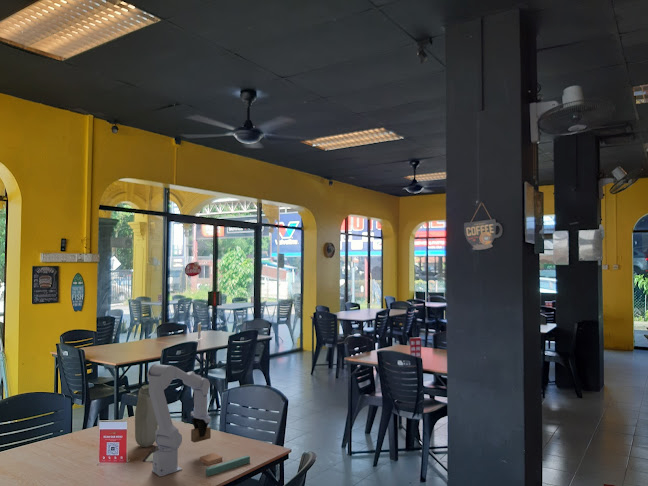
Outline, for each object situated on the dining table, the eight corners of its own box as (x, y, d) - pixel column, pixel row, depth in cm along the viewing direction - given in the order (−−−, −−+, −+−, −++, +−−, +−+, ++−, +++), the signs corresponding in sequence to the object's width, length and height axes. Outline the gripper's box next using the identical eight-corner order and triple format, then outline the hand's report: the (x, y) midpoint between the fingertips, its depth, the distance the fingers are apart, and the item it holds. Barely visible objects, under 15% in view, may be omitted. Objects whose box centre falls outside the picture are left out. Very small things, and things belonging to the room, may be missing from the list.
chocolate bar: (174, 445, 231) (163, 460, 213) (174, 447, 231) (163, 462, 213) (155, 445, 230) (142, 460, 212) (155, 447, 230) (142, 462, 212)
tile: (207, 466, 208) (207, 461, 208) (199, 461, 213) (199, 456, 214) (222, 461, 213) (222, 457, 213) (213, 457, 218) (213, 452, 218)
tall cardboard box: (194, 442, 217) (194, 431, 217) (191, 440, 219) (191, 429, 219) (210, 438, 222) (210, 427, 223) (207, 436, 225) (207, 425, 225)
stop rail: (208, 476, 197) (208, 469, 197) (205, 474, 199) (205, 468, 199) (249, 462, 211) (249, 456, 211) (247, 461, 212) (247, 455, 212)
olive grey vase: (158, 447, 229) (158, 386, 230) (134, 450, 225) (135, 388, 227) (157, 440, 238) (157, 382, 240) (134, 443, 234) (135, 384, 236)
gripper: (216, 406, 219) (216, 437, 218) (200, 399, 229) (200, 429, 229) (202, 409, 214) (202, 441, 213) (186, 402, 225) (186, 433, 224)
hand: (200, 435), depth 221 cm, fingers closed on tall cardboard box, 3 cm apart
